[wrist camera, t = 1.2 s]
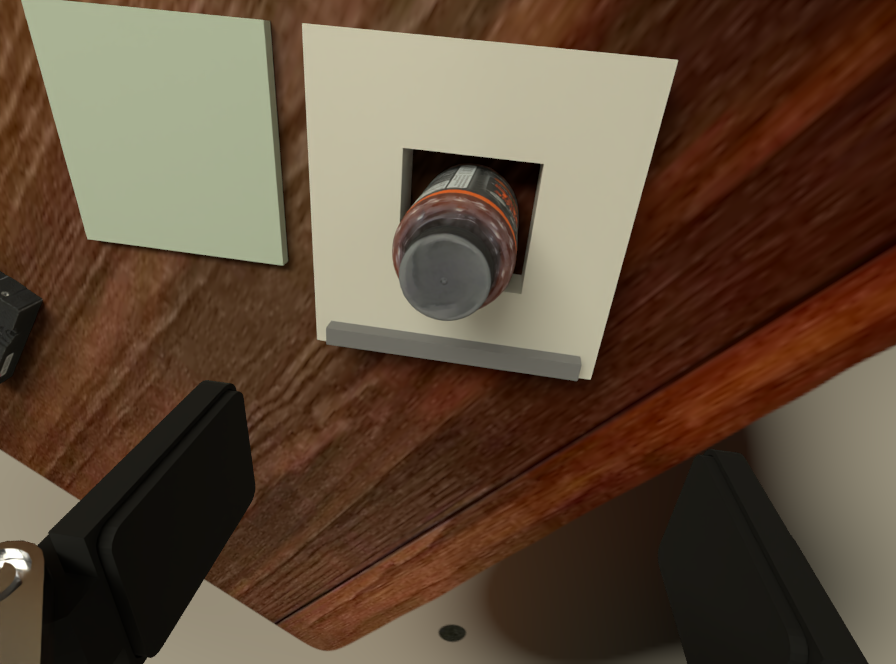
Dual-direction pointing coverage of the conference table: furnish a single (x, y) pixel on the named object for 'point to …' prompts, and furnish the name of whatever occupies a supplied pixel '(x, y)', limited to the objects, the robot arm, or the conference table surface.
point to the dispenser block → (485, 135)
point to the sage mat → (166, 126)
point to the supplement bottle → (457, 243)
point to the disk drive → (14, 322)
